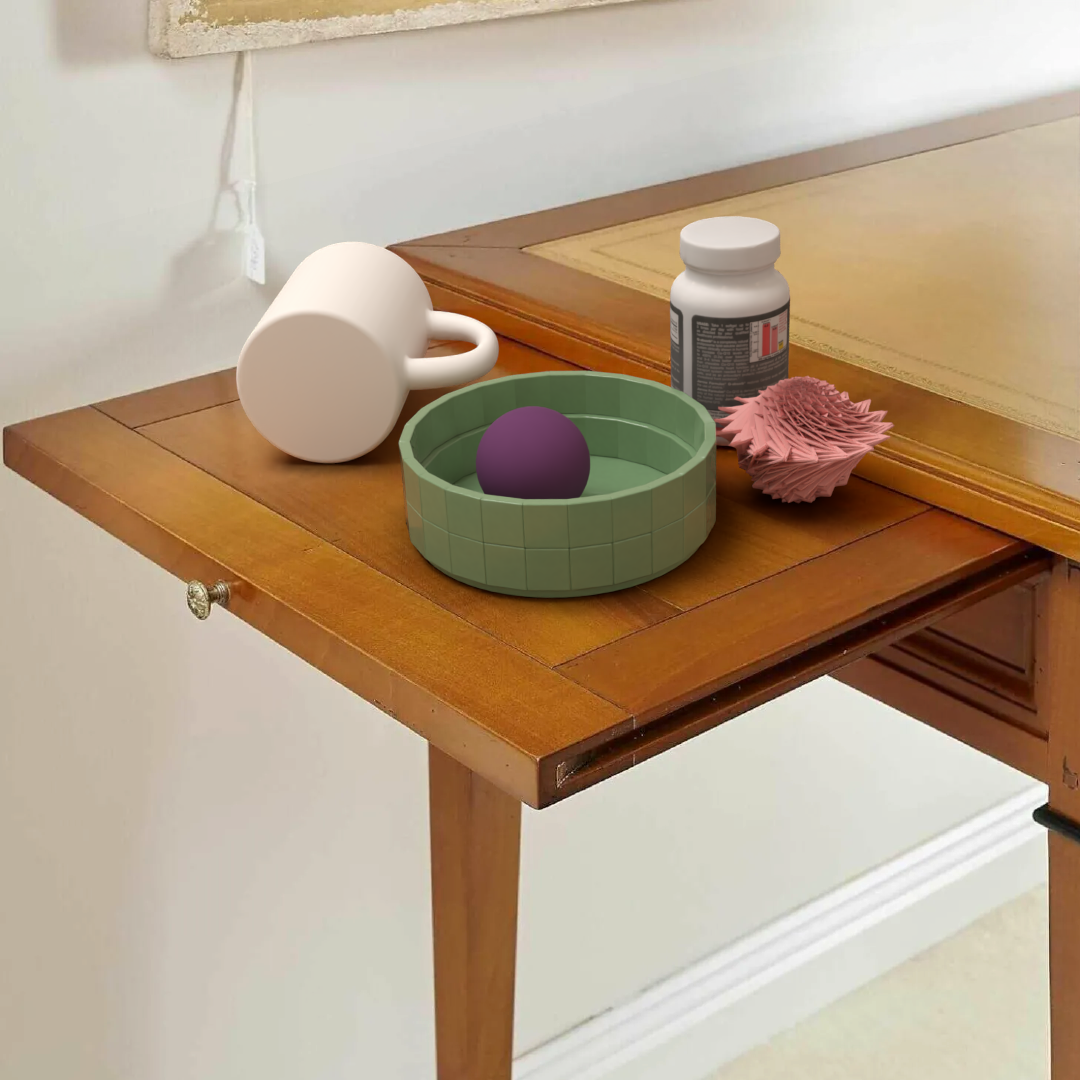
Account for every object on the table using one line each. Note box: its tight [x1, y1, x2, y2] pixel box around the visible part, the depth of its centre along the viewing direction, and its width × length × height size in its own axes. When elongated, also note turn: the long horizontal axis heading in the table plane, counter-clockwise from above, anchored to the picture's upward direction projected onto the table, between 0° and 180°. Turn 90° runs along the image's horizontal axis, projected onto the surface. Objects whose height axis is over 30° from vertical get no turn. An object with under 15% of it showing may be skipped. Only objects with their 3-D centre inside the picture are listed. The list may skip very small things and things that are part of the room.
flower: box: [713, 375, 895, 504], centre depth 73 cm, size 8×8×6 cm
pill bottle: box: [669, 215, 791, 447], centre depth 78 cm, size 6×6×10 cm
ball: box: [476, 406, 590, 499], centre depth 71 cm, size 5×5×5 cm
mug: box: [235, 241, 500, 464], centre depth 81 cm, size 12×10×8 cm
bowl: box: [398, 370, 717, 599], centre depth 71 cm, size 14×14×4 cm
